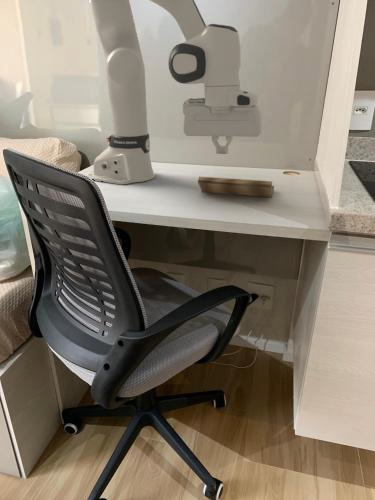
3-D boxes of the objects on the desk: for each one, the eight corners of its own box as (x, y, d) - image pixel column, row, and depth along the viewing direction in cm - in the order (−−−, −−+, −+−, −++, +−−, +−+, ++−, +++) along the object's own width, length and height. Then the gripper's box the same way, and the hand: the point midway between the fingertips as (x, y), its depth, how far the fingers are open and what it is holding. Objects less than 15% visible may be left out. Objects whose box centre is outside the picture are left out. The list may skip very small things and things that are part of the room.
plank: (197, 181, 109) (198, 176, 109) (202, 192, 115) (203, 187, 116) (271, 186, 104) (272, 181, 104) (271, 197, 110) (272, 192, 111)
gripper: (178, 99, 99) (181, 155, 105) (261, 98, 93) (258, 156, 99) (185, 97, 104) (187, 150, 110) (264, 96, 99) (261, 151, 105)
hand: (222, 153), depth 105 cm, fingers closed
